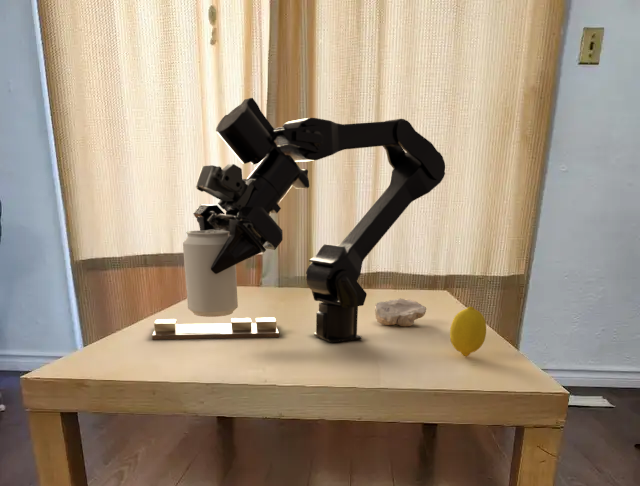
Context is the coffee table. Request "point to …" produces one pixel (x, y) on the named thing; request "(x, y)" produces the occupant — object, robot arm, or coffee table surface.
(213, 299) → the can
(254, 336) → the word board
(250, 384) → the coffee table surface
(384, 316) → the whitish grey lumpy stone
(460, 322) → the lemon
